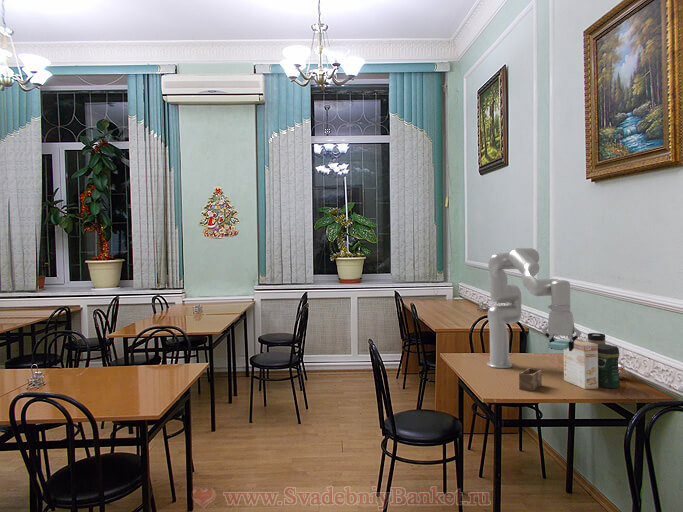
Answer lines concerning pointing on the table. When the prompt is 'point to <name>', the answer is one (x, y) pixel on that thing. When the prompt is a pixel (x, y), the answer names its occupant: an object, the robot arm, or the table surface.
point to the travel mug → (596, 338)
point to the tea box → (530, 379)
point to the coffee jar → (608, 366)
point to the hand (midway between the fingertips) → (561, 349)
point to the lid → (559, 344)
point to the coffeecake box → (582, 364)
